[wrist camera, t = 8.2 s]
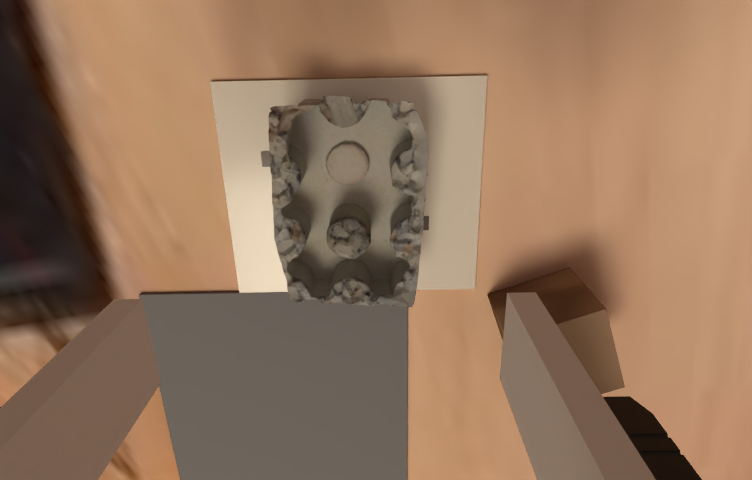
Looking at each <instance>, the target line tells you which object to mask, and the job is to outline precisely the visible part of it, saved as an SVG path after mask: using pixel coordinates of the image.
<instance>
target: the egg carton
mask: <svg viewBox="0 0 752 480" xmlns="http://www.w3.org/2000/svg"><path fill="white" fill-rule="evenodd" d="M270 110H271V112H269V117H268V118H269V131H268V134H269V158H270V170H271V174H272V204H273V220H274V240H275V243H276V247H277V251H278V255H279V258H280V261H281V264H282V268H283V272H284V275H285V277H286V280H287V290H288V294H289V297H290V299H291V301H293V302H301V301H303V300H317V301H320V302H321V303H322V304H326V305H328V304H332V303H344V304H348V305H365V306H371V307H373V306H376V305H379V304H387V305H391V306H397V307H412V306H413V304H414V301H415V295H416V289H417V282H418V275H419V261H420V254H421V241H422V234H423V225H424V208H425V198H426V184H427V177H428V156H429V149H428V137H427V134H426V131H425V128H424V126H423V124H422V122H421V120H420V117H419V115H418V113H417V111H416V109H415V106H414V103H411V102H408V101H401V102H394V103H391V104H390V102H389V99H387V98H371V99H369V100H368V101H363V102H362V103H354V102H353V101H352V99H351V97H345V96H323V100H320V99H305V100H303V101H302V102H301V103H299V104H298V106H295V105H287V106H273V107H271V108H270Z"/></svg>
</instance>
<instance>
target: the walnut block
mask: <svg viewBox="0 0 752 480" xmlns="http://www.w3.org/2000/svg"><path fill="white" fill-rule="evenodd" d="M527 292H536V294H537V295H538V297H539V298H540V300H541V301H542V303H543V305H544V306H545V308H546V309H547V311H548V312H549V314H550V315H551V317H552V319H553V320H554V322H555V323H556V325H557V326H558V328H559V329H560V331H561V333H562V334H563V336H564V337H565V339H566V340H567V342H568V343H569V345H570V347H571V348H572V350H573V351H574V353H575V354H576V356H577V358H578V359H579V361H580V362H581V364H582V365H583V367H584V368H585V370H586V372H587V373H588V375H589V376H590V378H591V379H592V381H593V382H594V384H595V386H596V387H597V389H598V390H599V392H600V393H601V394H603V393H606V392H610V391H613V390H617V389H620V388H623V387H625V386H624V382H623V378H622V374H621V369H620V365H619V361H618V357H617V353H616V348H615V344H614V340H613V336H612V332H611V328H610V323H609V319H608V315H607V311H606V308H605V307H604V306H603V305H602V304H601V303H600V302H599V300H598V299H597V298H596V297H595V296H594V295H593V294H592V292H591V291H590V290H589V289H588V288H587V287H586V286H585V284H584V283H583V282H582V281H581V280H580V279H579V278H578V276H577V275H576V274H575V273H574V272H573V271H572V270H571V268H567V269H563V270H560V271H557V272H554V273H551V274H548V275H545V276H542V277H539V278H536V279H533V280H530V281H527V282H524V283H521V284H517V285H514V286H511V287H508V288H505V289H502V290H499V291H496V292H493V293H490V294H487V295H488V298H489V301H490V304H491V307H492V310H493V313H494V316H495V319H496V322H497V325H498V328H499V331H500V334H501V337H502V340H503V334H504V323H505V311H506V299H507V293H527Z"/></svg>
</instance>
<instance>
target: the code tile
mask: <svg viewBox="0 0 752 480" xmlns="http://www.w3.org/2000/svg"><path fill="white" fill-rule="evenodd" d="M210 85H211V92H212V99H213V106H214V114H215V121H216V128H217V135H218V143H219V150H220V157H221V164H222V171H223V179H224V186H225V193H226V200H227V207H228V215H229V222H230V229H231V236H232V243H233V251H234V258H235V265H236V272H237V279H238V287H239V293H267V292H288V290H287V280H286V277H285V275H284V272H283V268H282V264H281V261H280V258H279V255H278V251H277V247H276V243H275V240H274V220H273V204H272V174H271V170H270V158H269V134H268V131H269V118H268V117H269V112H271V110H270V108H271V107H273V106H287V105H295V106H298V104H299V103H301V102H302V101H303V100H305V99H320V100H323V96H345V97H351V99H352V101H353V102H354V103H362V102H363V101H368V100H369V99H371V98H387V99H389V102H390V104H391V103H394V102H401V101H408V102H411V103H414V106H415V109H416V111H417V113H418V115H419V117H420V120H421V122H422V124H423V126H424V128H425V131H426V134H427V137H428V149H429V156H428V177H427V184H426V198H425V208H424V225H423V234H422V241H421V254H420V261H419V275H418V282H417V289H416V290H443V289H475V278H476V261H477V244H478V227H479V210H480V192H481V175H482V158H483V141H484V124H485V106H486V89H487V75H480V76H436V77H391V78H347V79H303V80H259V81H214V82H210Z"/></svg>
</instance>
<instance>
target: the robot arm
mask: <svg viewBox="0 0 752 480" xmlns="http://www.w3.org/2000/svg"><path fill="white" fill-rule="evenodd" d="M500 380H501V382H502V385H503V388H504V391H505V393H506V396H507V399H508V402H509V404H510V407H511V410H512V412H513V415H514V418H515V421H516V423H517V426H518V429H519V432H520V434H521V437H522V440H523V442H524V445H525V448H526V451H527V453H528V456H529V459H530V462H531V464H532V467H533V470H534V472H535V475H536V478H537V480H702V479H701V478H700V477H699V475H698V474H697V473H696V471H695V470H694V469H693V467H692V466H691V465H690V463H689V462H688V461H687V459H686V458H685V457H684V455H681V454H680V450H679V449H678V447H677V446H676V444H675V443H674V442H673V440H672V439H671V438H668V436H667V432H666V431H665V430H664V428H663V427H662V426H661V424H660V423H659V422H658V420H657V419H656V418H655V416H654V415H653V414H652V413H651V412H650V411H648V410H647V409H646V408H644V407H643V406H642V405H640V404H639V403H638V402H636V401H635V400H634V399H632V398H631V397H630V396H629V397H603V396H602V395H601V393H600V392H599V390H598V389H597V387H596V386H595V384H594V382H593V381H592V379H591V378H590V376H589V375H588V373H587V372H586V370H585V368H584V367H583V365H582V364H581V362H580V361H579V359H578V358H577V356H576V354H575V353H574V351H573V350H572V348H571V347H570V345H569V343H568V342H567V340H566V339H565V337H564V336H563V334H562V333H561V331H560V329H559V328H558V326H557V325H556V323H555V322H554V320H553V319H552V317H551V315H550V314H549V312H548V311H547V309H546V308H545V306H544V305H543V303H542V301H541V300H540V298H539V297H538V295H537V294H536V292H527V293H507V299H506V311H505V323H504V334H503V346H502V358H501V370H500ZM160 383H161V381H160V377H159V372H158V367H157V363H156V358H155V354H154V349H153V345H152V340H151V336H150V331H149V327H148V322H147V318H146V313H145V309H144V304H143V300H142V299H114V300H113V301H112V302H111V303H110V304H109V305H108V306H107V307H106V308H105V309H104V310H103V311H102V312H101V313H100V314H99V315H97V316H96V317H95V318H94V319H93V320H92V321H91V322H90V323H89V324H88V325H87V326H86V327H85V328H84V329H83V330H82V331H81V332H80V333H79V334H78V335H76V336H75V337H74V338H73V339H72V340H71V341H70V342H69V343H68V344H67V345H66V346H65V347H64V348H63V349H62V350H61V351H60V352H59V353H58V354H57V355H55V356H54V357H53V358H52V359H51V360H50V361H49V362H48V363H47V364H46V365H45V366H44V367H43V368H42V369H41V370H40V371H39V372H38V373H37V374H36V375H34V376H33V377H32V378H31V379H30V380H29V381H28V382H27V383H26V384H25V385H24V386H23V387H22V388H21V389H20V390H19V391H18V392H17V393H16V394H15V395H13V396H12V397H11V398H10V399H9V400H8V401H7V402H6V403H5V404H4V405H3V406H2V407H0V480H98V479H99V477H100V476H101V474H102V473H103V471H104V470H105V468H106V467H107V465H108V463H109V462H110V460H111V459H112V457H113V456H114V454H115V453H116V451H117V450H118V448H119V447H120V445H121V443H122V442H123V440H124V439H125V437H126V436H127V434H128V433H129V431H130V430H131V428H132V427H133V425H134V423H135V422H136V420H137V419H138V417H139V416H140V414H141V413H142V411H143V410H144V408H145V407H146V405H147V403H148V402H149V400H150V399H151V397H152V396H153V394H154V393H155V391H156V390H157V388H158V387H159V385H160Z"/></svg>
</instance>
